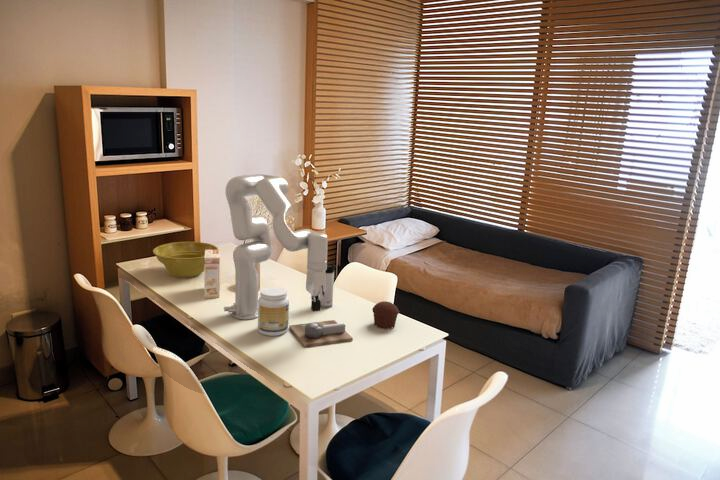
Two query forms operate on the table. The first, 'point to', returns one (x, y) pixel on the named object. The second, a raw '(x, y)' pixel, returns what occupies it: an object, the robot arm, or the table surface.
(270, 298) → the supplement tub
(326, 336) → the board
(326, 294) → the travel mug
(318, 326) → the grey knobbed bar
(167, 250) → the planter bowl
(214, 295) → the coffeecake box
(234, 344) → the table surface
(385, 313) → the muffin
